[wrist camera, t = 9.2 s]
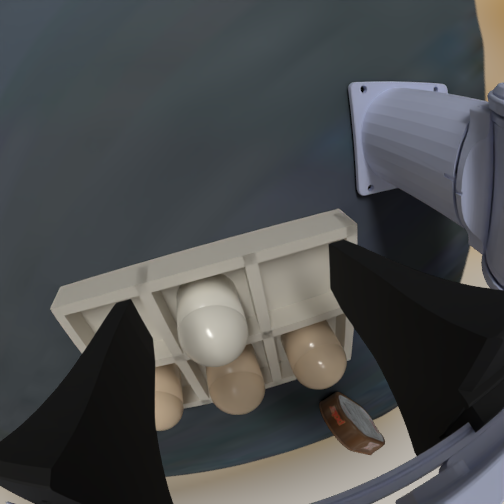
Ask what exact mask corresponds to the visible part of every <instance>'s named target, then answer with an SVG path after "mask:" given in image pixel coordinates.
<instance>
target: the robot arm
mask: <svg viewBox="0 0 504 504" xmlns="http://www.w3.org/2000/svg"><path fill="white" fill-rule="evenodd" d="M361 86H363V88H364V91H363V93H362V92H361V90H360V89H361ZM434 88H435V91H434ZM348 93H349V101H350V109H351V118H352V128H353V139H354V151H355V166H356V185H357V192H358V193H359V194H360V195H362V196H365V195H370V194H374V193H378V192H382V191H387V190H391V189H395V188H399V189H401V190H403V191H405V192H406V193H408V194H410V195H412V196H413V197H415V198H417V199H418V200H420V201H422V202H423V203H425V204H427V205H428V206H430V207H432V208H433V209H435V210H437V211H438V212H440V213H441V214H443V215H445V216H446V217H448V218H449V219H451V220H452V221H454V222H455V223H457V224H458V225H460V226H461V227H463V228H464V229H466V230H467V232H468V236H469V242H468V243H469V245H470V246H472V247H473V248H474V249H476V250H477V251H479V252H480V253H481V254H482V262H481V263H482V271H483V275H484V278H485V280H486V282H487V284H488V286H489V287H490V289H489V288H481V287H475V286H470V285H466V284H461V283H457V282H452V281H449V280H445V279H441V278H438V277H435V276H432V275H429V274H425V273H423V272H420V271H417V270H414V269H412V268H409V267H407V266H404V265H402V264H399V263H397V262H394V261H392V260H390V259H388V258H385V257H383V256H381V255H379V254H376V253H374V252H372V251H370V250H368V249H365V248H363V247H361V246H359V245H356V244H354V243H352V242H349V241H347V240H344V239H343V240H340V241H336V242H333V243H330V244H328V245H329V266H330V289H331V291H332V293H333V295H334V297H335V298H336V300H337V302H338V304H339V306H340V308H341V310H342V311H343V313H344V314H345V316H346V317H347V318H348V320H349V321H350V323H351V324H352V326H353V327H354V328H355V330H356V331H357V333H358V334H359V335H360V337H361V338H362V340H363V341H364V343H365V344H366V345H367V347H368V348H369V350H370V351H371V353H372V354H373V356H374V358H375V359H376V361H377V363H378V365H379V367H380V368H381V370H382V372H383V374H384V376H385V378H386V380H387V382H388V384H389V387H390V389H391V391H392V393H393V395H394V397H395V400H396V402H397V404H398V407H399V409H400V411H401V414H402V417H403V419H404V422H405V424H406V427H407V430H408V433H409V436H410V439H411V442H412V445H413V448H414V451H415V453H416V455H417V457H415V458H413V459H412V460H410V461H408V462H406V463H404V464H403V465H401V466H399V467H397V468H395V469H393V470H391V471H389V472H387V473H385V474H383V475H381V476H379V477H377V478H375V479H373V480H370V481H368V482H366V483H364V484H361V485H359V486H357V487H354V488H352V489H350V490H347V491H345V492H342V493H339V494H337V495H334V496H331V497H329V498H326V499H323V500H320V501H317V502H314V503H311V504H372V503H374V502H376V501H378V500H380V499H382V498H385V497H386V496H389V495H390V494H392V493H394V492H396V491H398V490H400V489H402V488H404V487H406V486H408V485H409V484H411V483H413V482H415V481H416V480H418V479H420V478H422V477H423V476H425V475H426V474H428V473H430V472H431V471H433V470H434V469H436V468H437V467H439V466H441V467H440V469H439V474H438V475H436V476H435V477H433V478H432V479H430V480H429V481H427V482H425V483H424V484H422V485H420V486H419V487H417V488H415V489H414V490H413V491H411V492H410V493H408V494H406V495H405V496H403V497H401V498H399V499H398V500H396V504H501V503H502V502H503V501H504V83H499V84H498V85H497V86H496V87H495V88H494V90H492V91H490V92H489V93H488V101H489V102H487V101H482V100H478V99H473V98H468V97H463V96H458V95H453V94H448V91H447V87H446V86H445V85H444V84H437V83H421V82H353V83H351V84H350V85H349V87H348ZM369 185H371V187H370V189H368V186H369ZM0 486H2V487H3V488H5V489H7V490H9V491H10V492H12V493H14V494H16V495H18V496H20V497H22V498H24V499H26V500H28V501H30V502H32V503H35V504H173V502H172V499H171V496H170V492H169V490H168V486H167V482H166V478H165V474H164V470H163V465H162V461H161V456H160V451H159V445H158V439H157V432H156V424H155V353H154V343H153V337H152V336H151V334H150V332H149V331H148V329H147V327H146V325H145V324H144V322H143V320H142V318H141V316H140V315H139V313H138V311H137V309H136V307H135V305H134V304H133V302H132V300H131V299H129V300H125V301H121V302H117V303H116V304H115V305H114V306H113V308H112V309H111V311H110V312H109V313H108V315H107V316H106V318H105V320H104V321H103V323H102V324H101V326H100V327H99V329H98V330H97V332H96V334H95V335H94V337H93V338H92V340H91V341H90V343H89V344H88V346H87V347H86V349H85V350H84V352H83V353H82V355H81V356H80V358H79V359H78V361H77V362H76V364H75V365H74V367H73V368H72V369H71V371H70V372H69V373H68V375H67V376H66V377H65V379H64V380H63V381H62V382H61V384H60V385H59V386H58V387H57V389H56V390H55V391H54V392H53V393H52V394H51V395H50V396H49V397H48V399H47V400H46V401H45V402H44V403H43V404H42V405H41V406H40V407H39V409H38V410H37V411H36V412H34V413H33V414H32V415H31V416H30V417H29V418H28V419H27V420H26V421H25V422H24V423H23V424H22V425H21V426H19V427H18V428H17V429H16V430H15V431H13V432H12V433H11V434H10V435H8V436H7V437H6V438H4V439H3V440H2V441H1V442H0ZM6 504H14V503H11V502H6Z"/></svg>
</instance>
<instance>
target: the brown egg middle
mask: <svg viewBox="0 0 504 504" xmlns="http://www.w3.org/2000/svg"><path fill="white" fill-rule="evenodd" d="M205 369H206V376H207V382H208V389H209V394H210V397H211V399H212V401H213V403H214V404H215V405H216V406H217V407H218V408H219V409H220V410H222V411H224V412H226V413H228V414H233V415H242V414H246V413H249V412H251V411H253V410H254V409H255V408H257V407H258V406H259V404H260V403H261V402H262V400H263V397H264V394H265V383H264V379H263V376H262V373H261V370H260V366H259V363H258V360H257V357H256V354H255V350H254V348H253V346H252V344H247V345H246V346H245V349H244V350H243V352H242V353H241V355H240V356H239V357H238V358H237V359H236V360H234V361H233V362H231V363H229V364H227V365H224V366H220V367H207V366H205Z"/></svg>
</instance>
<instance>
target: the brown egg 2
mask: <svg viewBox="0 0 504 504" xmlns="http://www.w3.org/2000/svg"><path fill="white" fill-rule="evenodd" d="M280 340H281V343H282V346H283V348H284V351H285V353H286V356H287V358H288V361H289V363H290V365H291V368H292V370H293V373H294V375H295V377H296V378H297V380H298V381H299V382H300V383H301V384H303V385H304V386H306V387H308V388H311V389H325V388H328V387H331V386H333V385H334V384H336V383H337V382H338V381H339V380H340V379H341V377H342V376H343V374H344V372H345V369H346V365H347V359H346V354H345V351H344V349H343V347H342V346H341V344H340V342H339V341H338V339H337V337H336V336H335V334H334V332H333V331H332V329H331V327H330V326H329V324H328V322H327V321H326V320H324V321H321V322H318V323H315V324H312V325H309V326H306V327H303V328H300V329H297V330H294V331H291V332H287V333H284V334H281V337H280Z"/></svg>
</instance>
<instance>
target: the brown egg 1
mask: <svg viewBox="0 0 504 504" xmlns="http://www.w3.org/2000/svg"><path fill="white" fill-rule="evenodd" d="M183 409H184V407H183V395H182V384H181V371H180V368H179V367H178V365H177V364H175V363H172V364H168V365H163V366H158V367H155V424H156V431H162V430H167V429H170V428H172V427H173V426H175V425H176V424H177V423H178V422H179V420H180V419H181V417H182V414H183Z"/></svg>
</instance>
